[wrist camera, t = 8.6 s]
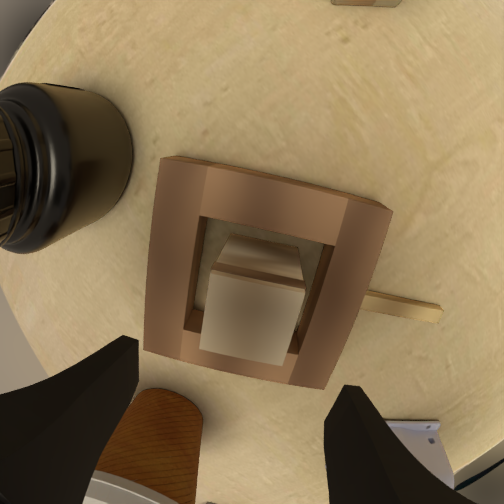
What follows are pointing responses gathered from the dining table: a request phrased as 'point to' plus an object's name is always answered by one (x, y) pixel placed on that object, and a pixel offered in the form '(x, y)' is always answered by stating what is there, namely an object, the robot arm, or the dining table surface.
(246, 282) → the beige banded block
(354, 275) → the wooden frame with handle
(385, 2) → the box
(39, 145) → the ink bottle
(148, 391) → the disposable coffee cup
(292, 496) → the dining table surface
